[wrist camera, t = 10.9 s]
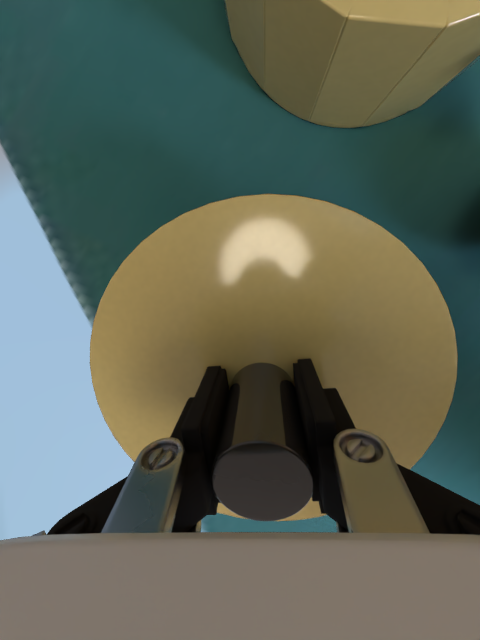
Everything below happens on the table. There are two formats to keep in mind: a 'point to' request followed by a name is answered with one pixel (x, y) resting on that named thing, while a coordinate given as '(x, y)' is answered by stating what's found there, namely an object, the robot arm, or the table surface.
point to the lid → (273, 340)
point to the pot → (354, 53)
